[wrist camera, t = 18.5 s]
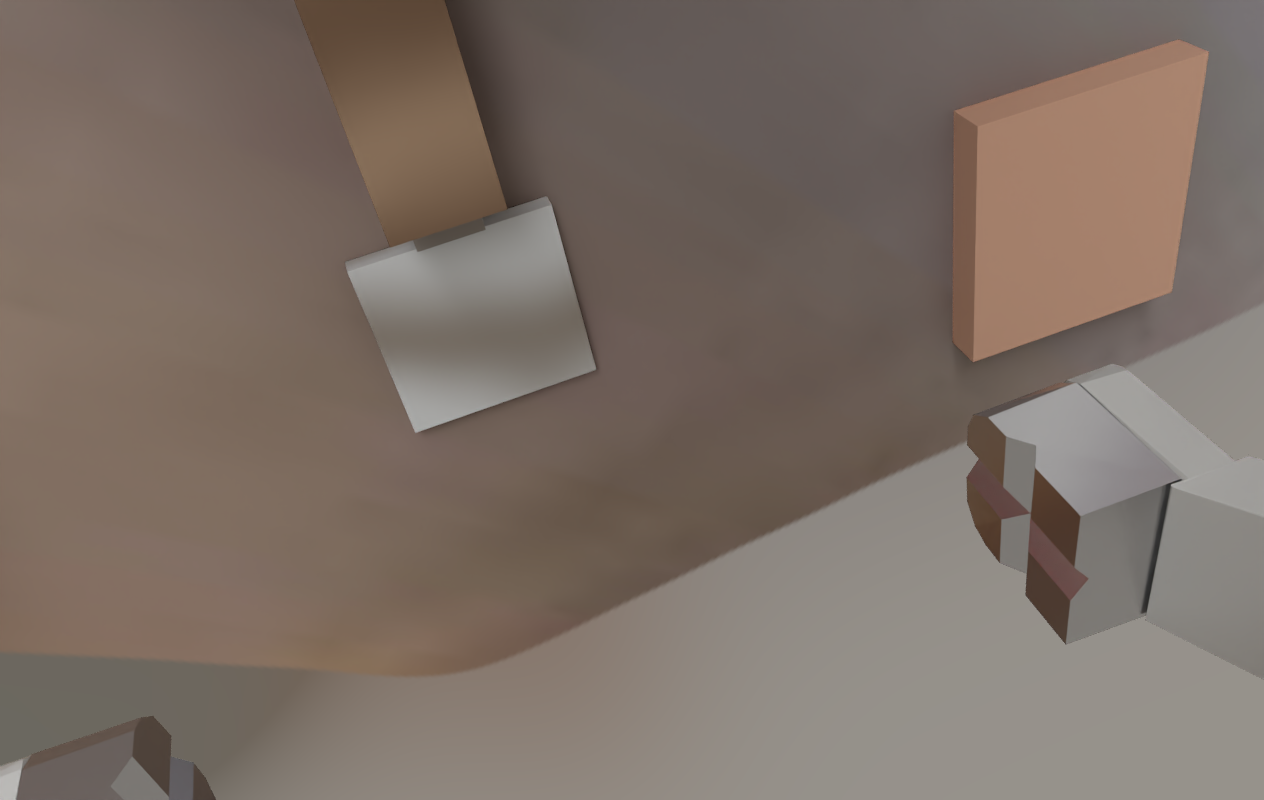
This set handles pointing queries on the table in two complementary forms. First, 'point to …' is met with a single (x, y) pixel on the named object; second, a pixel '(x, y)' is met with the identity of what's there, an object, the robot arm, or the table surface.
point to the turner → (443, 220)
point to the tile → (1072, 197)
